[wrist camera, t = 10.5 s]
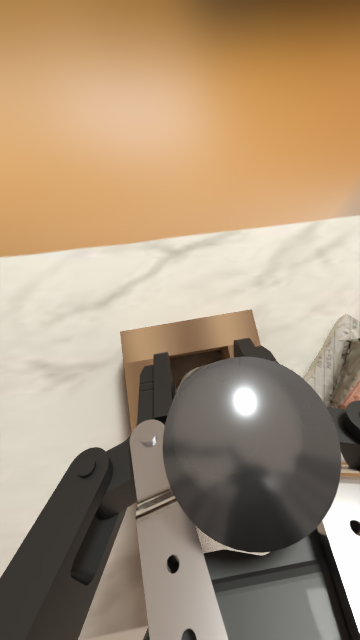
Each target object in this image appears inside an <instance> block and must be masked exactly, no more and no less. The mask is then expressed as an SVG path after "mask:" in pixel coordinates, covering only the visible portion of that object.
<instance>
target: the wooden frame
mask: <svg viewBox="0 0 360 640" xmlns="http://www.w3.org/2000/svg"><path fill="white" fill-rule="evenodd" d="M120 335H121V344H122V352H123V361H124V370H125V379H126V388H127V397H128V406H129V415H130V424H131V432H133V430H134V429H135V428H136V425H137V414H138V398H139V385H140V384H139V382H140V374H141V372H142V370H143V368H144V366H148V365H153V355H154V354H156V353H162V352H168V354H169V358H170V359H171V358H177V357H183V356H188V355H194V354H200V353H206V352H211V351H217V350H220V354H221V359H222V360H224V359H228V358H234V347H233V343H234V340H238V339H243V338H250V339H251V341H252V342H253V344H254V345H255V347H257V346H261V345H260V341H259V337H258V333H257V329H256V325H255V321H254V317H253V313H252V310H246V311H240V312H234V313H228V314H222V315H216V316H210V317H204V318H198V319H193V320H187V321H181V322H175V323H169V324H163V325H157V326H151V327H145V328H139V329H133V330H128V331H122V332H120Z"/></svg>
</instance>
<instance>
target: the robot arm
mask: <svg viewBox="0 0 360 640" xmlns="http://www.w3.org/2000/svg"><path fill="white" fill-rule="evenodd" d="M233 347H234V357H256V358H263V359H266V360H270V361H273V362H276V363H278V362H277V361H276V359H275V358H274V356H273V355H272V353H271V352H270V351H269V350H267V349H266V348H264V347H263V346H257V347H255V345H254V344H253V342H252V341H251V339H250V338H243V339H238V340H234V343H233ZM278 364H279V363H278ZM139 384H140V385H139V398H138V414H137V425H136V428H135V429H134V430H133V432H132V434H131V436H130V437H129V438H128V439H127V440H126V441H124V442H123V443H121V444H119V445H118V446H116V447H114V448H112V449H110V450H108V451H106V452H105V451H104V450H103V449H101V448H97V447H95V448H90V449H87V450H85V451H83V452H82V453H80V454H79V455H78V456H77V457H76V458H75V459H74V460H73V462H72V463H71V465H70V467H69V468H68V470H67V471H66V473H65V475H64V476H63V478H62V479H61V481H60V483H59V484H58V486H57V488H56V489H55V491H54V492H53V494H52V496H51V497H50V499H49V500H48V502H47V504H46V505H45V507H44V509H43V510H42V512H41V513H40V515H39V517H38V518H37V520H36V521H35V523H34V525H33V526H32V528H31V530H30V531H29V533H28V534H27V536H26V538H25V539H24V541H23V542H22V544H21V546H20V547H19V549H18V551H17V552H16V554H15V555H14V557H13V559H12V560H11V562H10V564H9V565H8V567H7V568H6V570H5V572H4V573H3V575H2V576H1V578H0V640H78V637H79V635H80V632H81V629H82V627H83V624H84V621H85V619H86V616H87V613H88V611H89V608H90V605H91V603H92V600H93V597H94V595H95V592H96V589H97V587H98V584H99V581H100V579H101V576H102V573H103V571H104V568H105V565H106V563H107V560H108V557H109V555H110V552H111V549H112V547H113V544H114V541H115V539H116V536H117V533H118V531H119V528H120V525H121V523H122V520H123V517H124V515H125V512H126V509H127V507H129V506H130V505H132V504H134V503H135V502H137V509H136V527H137V536H138V544H139V552H140V561H141V569H142V578H143V586H144V595H145V603H146V611H147V620H148V629H147V631H146V634H145V636H144V639H143V640H360V400H358V401H353V402H351V403H349V404H348V405H347V408H346V409H341V408H332V407H327V409H328V411H329V413H330V415H331V417H332V419H333V422H334V425H335V427H336V430H337V434H338V438H339V442H340V450H341V474H340V482H339V485H338V489H337V493H336V496H335V498H334V501H333V503H332V506H331V508H330V509H329V511H328V513H327V514H326V516H325V518H324V519H323V520H322V521H321V523H320V524H319V525H318V527H317V528H315V529H314V530H313V531H312V532H311V533H310V534H309V535H308V536H306V537H305V538H303V539H302V540H300V541H299V542H297V543H295V544H293V545H291V546H289V547H287V548H283V549H280V550H276V551H271V552H270V553H268V554H266V555H264V556H259V555H253V554H247V553H242V552H236V551H230V550H219V551H214V552H209V553H204V554H203V551H202V548H201V545H200V541H199V538H198V534H197V531H196V528H195V524H194V523H193V522H192V521H191V520H190V519H189V518H188V516H187V515H186V514H185V513H184V512H183V510H182V508H181V507H180V505H179V504H178V502H177V500H176V499H175V496H174V494H173V492H172V490H171V488H170V485H169V482H168V479H167V476H166V471H165V466H164V461H163V434H164V428H165V423H166V419H167V416H168V413H169V410H170V407H171V405H172V402H173V400H174V397H175V385H174V378H173V373H172V368H171V363H170V358H169V354H168V352H162V353H156V354H154V355H153V365H148V366H144V368H143V370H142V372H141V374H140V382H139Z"/></svg>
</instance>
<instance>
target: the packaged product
mask: <svg viewBox="0 0 360 640" xmlns="http://www.w3.org/2000/svg"><path fill="white" fill-rule="evenodd" d="M304 380H305V381H306V382H307V383H308V384H309V385H310V386H311V387H312V388H313V389H314V390H315V392H316V393H317V394H318V395H319V396H320V398H321V399H322V401H323V402H324V404H325V405H326V407H332V408H341V409H346V408H347V405H348V404H349V403H351V402H353V401H358V400H360V322H359V321H357V320H356V319H354V318H353V317H351V316H350V315H347V314H345V315H344V316H342V317H341V318H339V319H338V321H337V322H336V324H335V325H334V327H333V329H332V331H331V332H330V334H329V336H328V338H327V339H326V341H325V343H324V345H323V347H322V348H321V350H320V352H319V353H318V355H317V357H316V358H315V360H314V362H313V363H312V365H311V367H310V369H309V370H308V372H307V374H306V376H305V377H304Z"/></svg>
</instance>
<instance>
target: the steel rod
mask: <svg viewBox="0 0 360 640" xmlns="http://www.w3.org/2000/svg"><path fill="white" fill-rule="evenodd" d="M163 461H164V466H165V471H166V476H167V479H168V482H169V485H170V488H171V490H172V492H173V494H174V496H175V499H176V500H177V502H178V504H179V505H180V507H181V508H182V510H183V512H184V513H185V514H186V515H187V516H188V518H189V519H190V520H191V521H192V522H193V523H194V524H195V525H196V526H197V527H198V528H199V529H200V530H201V531H202V532H204V533H205V534H206V535H208V536H209V537H211V538H212V539H214V540H216V541H217V542H219V543H221V544H223V545H225V546H228V547H231V548H234V549H237V550H242V551H246V552H261V553H262V552H271V551H276V550H280V549H283V548H287V547H289V546H291V545H293V544H295V543H297V542H299V541H300V540H302V539H303V538H305V537H306V536H308V535H309V534H310V533H311V532H312V531H313V530H314V529H315V528H317V527H318V525H319V524H320V523H321V521H322V520H323V519H324V518H325V516H326V514H327V513H328V511H329V509H330V508H331V506H332V503H333V501H334V498H335V496H336V493H337V489H338V485H339V482H340V474H341V450H340V442H339V438H338V434H337V430H336V427H335V425H334V422H333V419H332V417H331V415H330V413H329V411H328V409H327V407H326V405H325V404H324V402H323V401H322V399H321V398H320V396H319V395H318V394H317V393H316V392H315V390H314V389H313V388H312V387H311V386H310V385H309V384H308V383H307V382H306V381H305V380H304V379H303V378H301V377H300V376H299V375H297V374H296V373H295V372H293V371H292V370H290V369H288V368H286V367H285V366H283V365H280V364H278V363H276V362H273V361H270V360H266V359H263V358H256V357H234V358H228V359H224V360H220V361H217V362H214V363H210V364H207V365H204V366H201V367H197V368H194V369H192V370H190V371H188V372H187V373H186V374H185V375H184V376H183V378H182V379H181V382H180V384H179V387H178V389H177V392H176V394H175V397H174V400H173V402H172V405H171V407H170V410H169V413H168V416H167V419H166V423H165V428H164V434H163Z"/></svg>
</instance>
